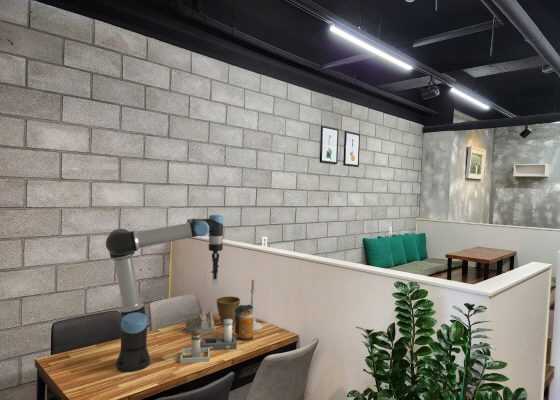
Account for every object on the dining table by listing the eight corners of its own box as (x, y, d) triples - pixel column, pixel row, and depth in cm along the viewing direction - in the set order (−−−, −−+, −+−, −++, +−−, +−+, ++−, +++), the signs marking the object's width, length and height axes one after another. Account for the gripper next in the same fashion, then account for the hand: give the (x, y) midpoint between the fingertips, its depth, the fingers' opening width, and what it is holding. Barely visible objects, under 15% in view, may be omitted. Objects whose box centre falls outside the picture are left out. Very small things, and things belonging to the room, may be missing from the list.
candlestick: (248, 332, 229) (249, 282, 228) (238, 325, 239) (239, 278, 239) (266, 328, 236) (267, 280, 235) (256, 322, 246) (257, 276, 246)
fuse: (223, 347, 202) (223, 321, 202) (223, 344, 207) (223, 318, 207) (232, 347, 203) (232, 321, 203) (231, 343, 208) (232, 318, 208)
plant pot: (231, 319, 251) (231, 295, 251) (244, 325, 240) (244, 300, 240) (211, 323, 242) (212, 298, 242) (223, 330, 230) (224, 304, 230)
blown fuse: (190, 360, 188) (190, 331, 187) (190, 355, 192) (191, 328, 192) (200, 359, 188) (200, 331, 188) (200, 355, 193) (201, 328, 193)
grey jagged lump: (219, 330, 230) (218, 305, 230) (197, 339, 217) (196, 313, 217) (204, 325, 240) (202, 302, 240) (181, 333, 228) (180, 308, 227)
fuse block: (201, 352, 198) (202, 345, 198) (202, 345, 208) (202, 337, 208) (236, 351, 201) (236, 343, 201) (235, 343, 211) (235, 336, 211)
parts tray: (180, 365, 183) (180, 358, 183) (182, 354, 195) (182, 348, 195) (209, 363, 186) (209, 357, 186) (209, 353, 198) (209, 347, 198)
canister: (255, 341, 215) (256, 306, 214) (236, 343, 210) (237, 308, 210) (250, 335, 223) (251, 302, 222) (232, 338, 219) (233, 303, 218)
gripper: (223, 246, 196) (222, 287, 196) (222, 240, 221) (221, 276, 221) (208, 246, 195) (207, 287, 195) (209, 240, 219) (208, 276, 220)
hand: (214, 281), depth 208 cm, fingers open, 13 cm apart
